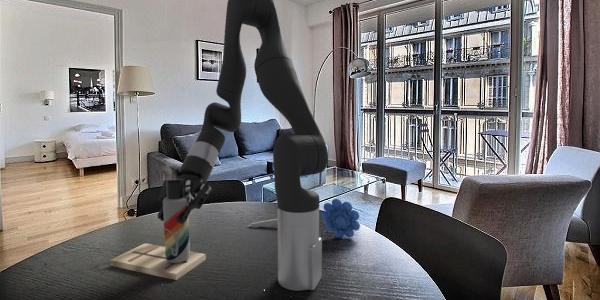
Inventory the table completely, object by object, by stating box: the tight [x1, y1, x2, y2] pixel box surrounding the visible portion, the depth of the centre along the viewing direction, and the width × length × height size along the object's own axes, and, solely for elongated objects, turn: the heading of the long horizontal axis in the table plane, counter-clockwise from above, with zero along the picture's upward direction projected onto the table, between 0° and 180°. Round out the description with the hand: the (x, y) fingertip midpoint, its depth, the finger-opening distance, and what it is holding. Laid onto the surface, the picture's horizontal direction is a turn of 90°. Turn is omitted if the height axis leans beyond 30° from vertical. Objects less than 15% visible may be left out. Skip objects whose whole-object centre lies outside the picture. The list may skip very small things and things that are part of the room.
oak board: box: [110, 242, 207, 281], centre depth 85 cm, size 20×11×2 cm, turn 70°
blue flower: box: [320, 198, 361, 239], centre depth 100 cm, size 12×7×12 cm, turn 83°
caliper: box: [247, 218, 278, 228], centre depth 110 cm, size 20×1×6 cm, turn 89°
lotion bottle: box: [162, 178, 191, 263], centre depth 82 cm, size 6×6×20 cm
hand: (170, 220), depth 80 cm, fingers closed on lotion bottle, 5 cm apart
